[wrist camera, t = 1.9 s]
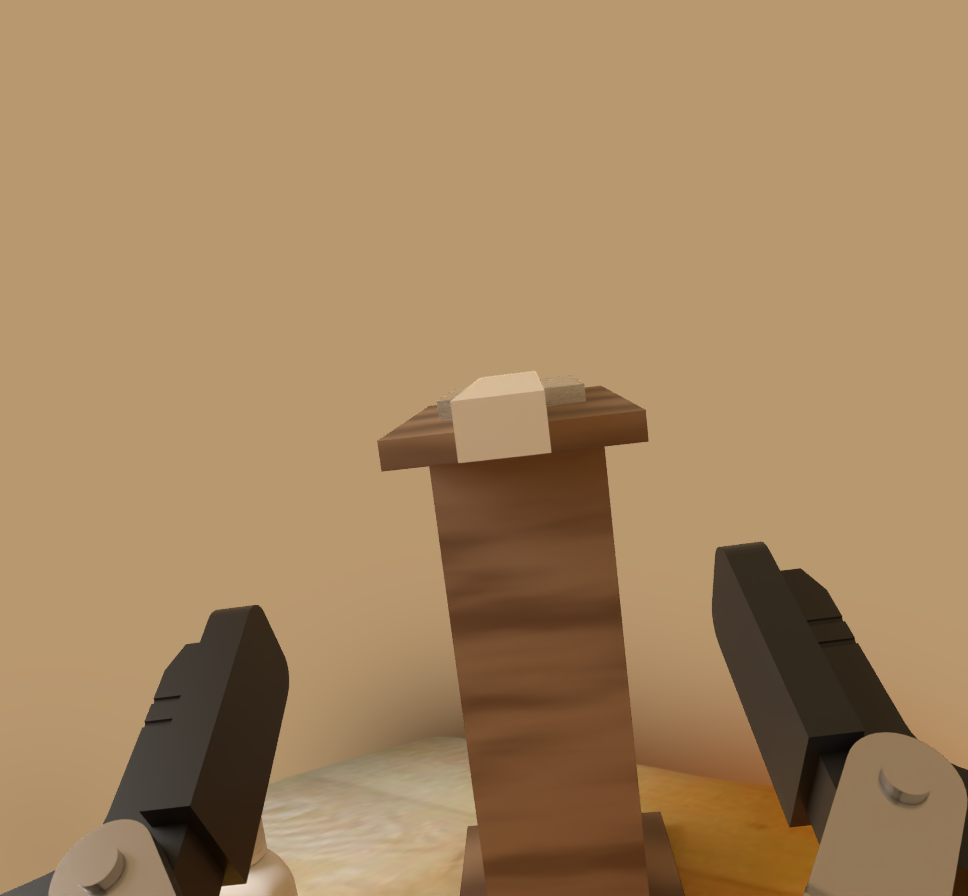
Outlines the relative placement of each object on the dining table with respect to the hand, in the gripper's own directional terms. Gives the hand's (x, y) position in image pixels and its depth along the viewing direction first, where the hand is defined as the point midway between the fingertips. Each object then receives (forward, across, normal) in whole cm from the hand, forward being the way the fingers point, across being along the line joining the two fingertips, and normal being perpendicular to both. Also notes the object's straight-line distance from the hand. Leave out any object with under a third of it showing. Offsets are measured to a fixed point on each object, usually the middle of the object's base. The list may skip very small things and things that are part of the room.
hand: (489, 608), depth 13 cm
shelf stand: (+11, 0, +40) cm, 42 cm away
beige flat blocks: (+21, -1, +10) cm, 23 cm away
